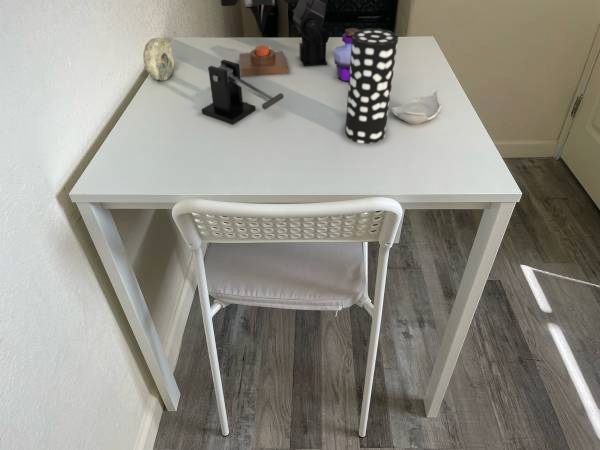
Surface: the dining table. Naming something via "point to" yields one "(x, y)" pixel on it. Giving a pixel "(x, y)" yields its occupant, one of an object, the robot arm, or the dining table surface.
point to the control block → (263, 63)
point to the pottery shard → (419, 109)
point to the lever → (252, 88)
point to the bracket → (226, 96)
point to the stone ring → (158, 58)
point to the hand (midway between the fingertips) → (261, 31)
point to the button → (262, 50)
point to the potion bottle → (344, 55)
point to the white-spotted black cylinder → (370, 84)
